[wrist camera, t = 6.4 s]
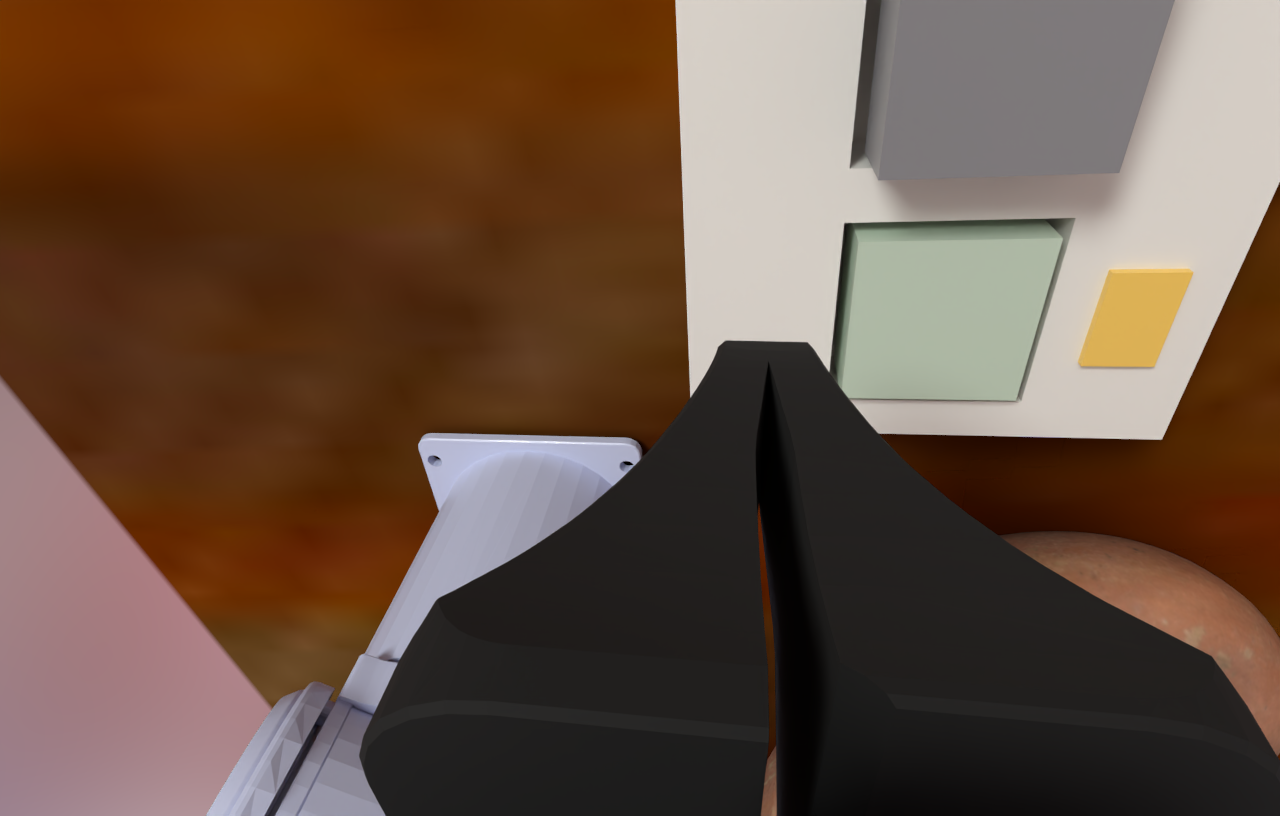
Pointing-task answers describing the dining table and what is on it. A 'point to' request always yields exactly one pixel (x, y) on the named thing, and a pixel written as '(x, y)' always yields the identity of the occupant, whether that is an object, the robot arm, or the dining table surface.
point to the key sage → (941, 307)
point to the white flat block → (975, 208)
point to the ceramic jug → (1158, 614)
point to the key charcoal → (1009, 86)
